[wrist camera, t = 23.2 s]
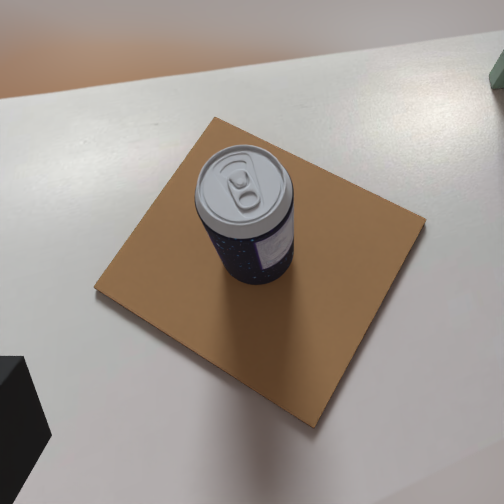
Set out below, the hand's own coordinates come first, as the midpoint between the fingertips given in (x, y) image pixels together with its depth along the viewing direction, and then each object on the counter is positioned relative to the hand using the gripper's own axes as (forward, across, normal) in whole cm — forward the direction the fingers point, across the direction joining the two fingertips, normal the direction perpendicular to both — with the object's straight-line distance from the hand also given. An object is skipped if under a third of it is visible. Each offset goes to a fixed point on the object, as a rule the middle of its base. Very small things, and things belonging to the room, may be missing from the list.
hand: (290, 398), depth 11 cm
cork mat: (+24, -3, -8) cm, 26 cm away
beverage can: (+24, -3, -8) cm, 25 cm away
